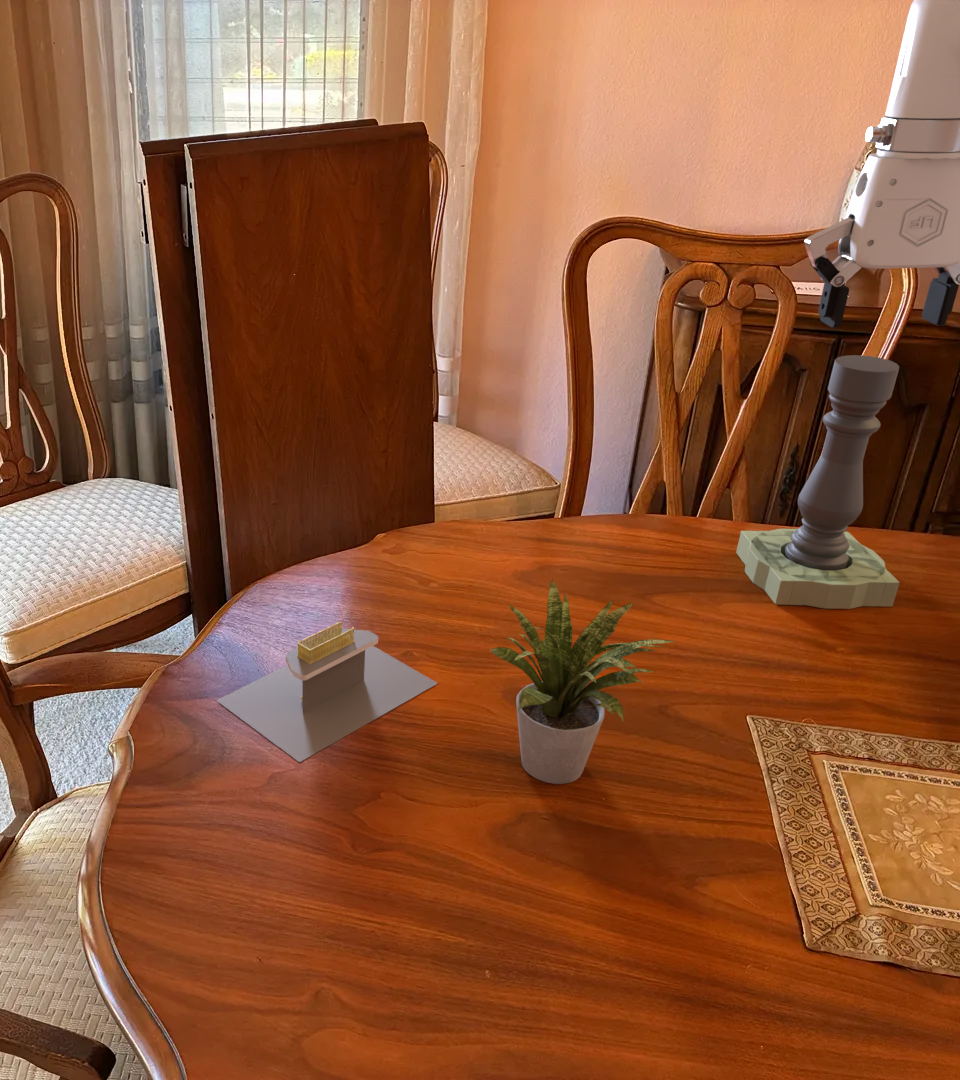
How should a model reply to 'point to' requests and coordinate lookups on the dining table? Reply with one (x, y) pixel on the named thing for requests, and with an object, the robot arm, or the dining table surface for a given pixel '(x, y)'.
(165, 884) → the dining table surface
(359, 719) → the platform
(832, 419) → the grey baluster
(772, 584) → the base pad
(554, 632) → the house plant
